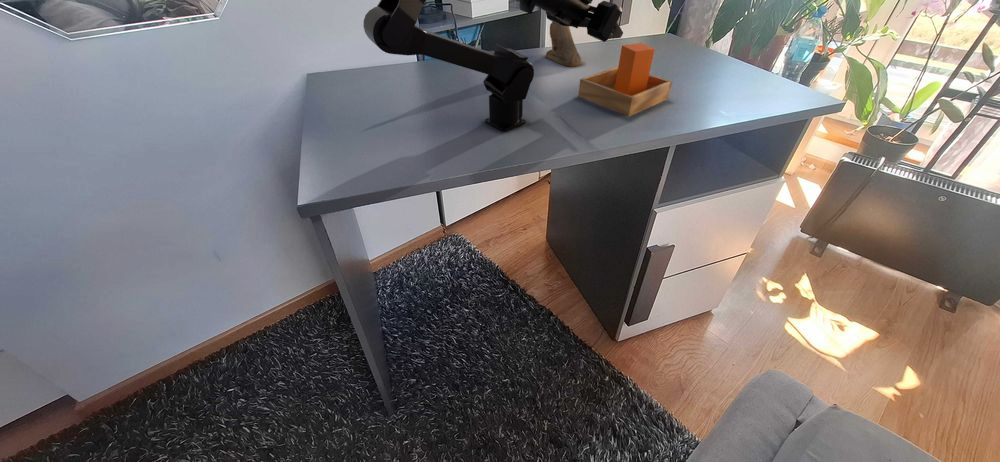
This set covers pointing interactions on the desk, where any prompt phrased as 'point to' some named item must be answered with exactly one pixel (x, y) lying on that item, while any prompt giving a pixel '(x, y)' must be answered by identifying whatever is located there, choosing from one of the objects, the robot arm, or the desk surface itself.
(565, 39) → the worn brown figurine
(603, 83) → the wooden box
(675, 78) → the desk surface
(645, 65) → the orange square pillar
